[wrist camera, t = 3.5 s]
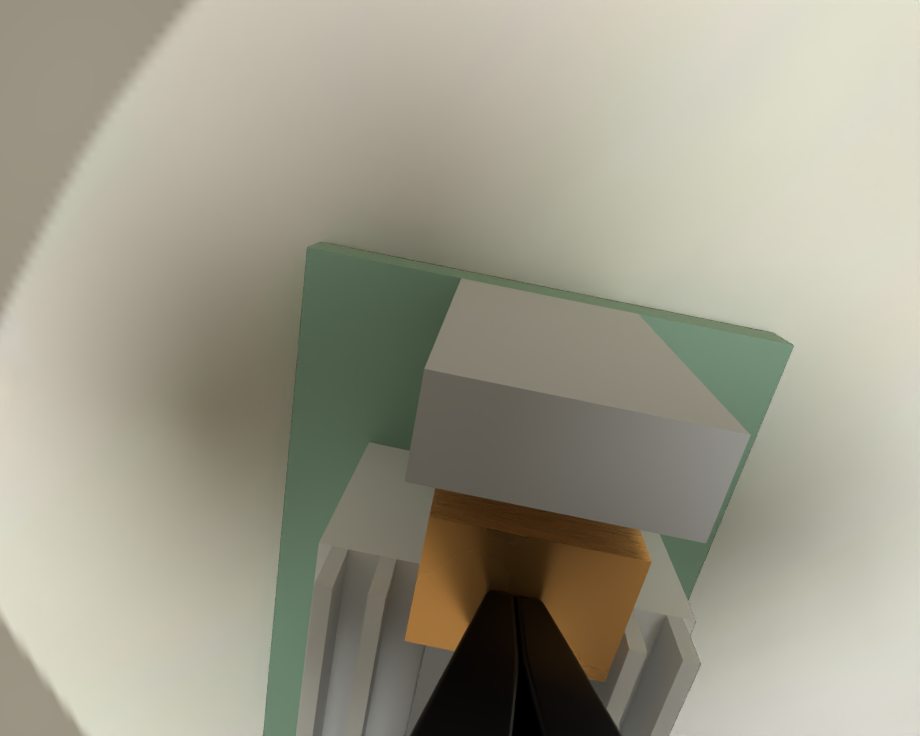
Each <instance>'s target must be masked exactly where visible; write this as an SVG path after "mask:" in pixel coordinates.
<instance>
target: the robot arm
mask: <svg viewBox="0 0 920 736" xmlns="http://www.w3.org/2000/svg"><path fill="white" fill-rule="evenodd" d="M410 736H622V734H621V732H620V730H619V729H618V727H617V725H616V724H615V722H614V720H613V719H612V717H611V715H610V714H609V712H608V710H607V709H606V707H605V705H604V704H603V702H602V700H601V698H600V697H599V695H598V693H597V692H596V690H595V688H594V687H593V685H592V683H591V682H590V680H589V678H588V677H587V675H586V673H585V672H584V670H583V668H582V667H581V665H580V663H579V661H578V660H577V658H576V656H575V655H574V653H573V651H572V650H571V648H570V646H569V645H568V643H567V641H566V640H565V638H564V636H563V635H562V633H561V631H560V630H559V628H558V626H557V624H556V623H555V621H554V619H553V618H552V616H551V614H550V613H549V611H548V609H547V608H546V606H545V604H544V603H543V602H542V601H541V600H539V599H535V598H530V597H525V596H520V595H518V596H516V597H515V598H514V597H513V595H512V594H510V593H506V592H501V591H496V590H488V591H487V592H486V593H485V595H484V597H483V599H482V601H481V603H480V604H479V606H478V608H477V610H476V612H475V614H474V616H473V618H472V619H471V621H470V623H469V625H468V627H467V629H466V631H465V633H464V634H463V636H462V638H461V640H460V642H459V644H458V646H457V648H456V649H455V651H454V653H453V655H452V657H451V659H450V661H449V662H448V664H447V666H446V668H445V670H444V672H443V674H442V676H441V677H440V679H439V681H438V683H437V685H436V687H435V689H434V691H433V692H432V694H431V696H430V698H429V700H428V702H427V704H426V706H425V707H424V709H423V711H422V713H421V715H420V717H419V719H418V721H417V722H416V724H415V726H414V728H413V730H412V732H411V734H410Z"/></svg>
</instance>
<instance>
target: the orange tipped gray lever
mask: <svg viewBox="0 0 920 736" xmlns="http://www.w3.org/2000/svg"><path fill="white" fill-rule="evenodd" d="M651 563H652V562H651V559H650V556H649V553H648V550H647V547H646V545H645V542H644V539H643V536H642V533H641V530H638V529H633V528H628V527H623V526H618V525H613V524H609V523H604V522H599V521H594V520H589V519H584V518H579V517H574V516H570V515H565V514H560V513H555V512H550V511H545V510H540V509H535V508H530V507H526V506H521V505H516V504H511V503H506V502H501V501H496V500H491V499H487V498H482V497H477V496H472V495H467V494H462V493H457V492H452V491H448V490H443V489H438V488H435V492H434V497H433V501H432V506H431V510H430V515H429V520H428V525H427V530H426V535H425V540H424V545H423V550H422V555H421V560H420V565H419V570H418V575H417V580H416V585H415V591H414V596H413V601H412V606H411V611H410V616H409V621H408V626H407V631H406V636H405V641H407V642H412V643H417V644H422V645H424V648H423V652H422V657H421V662H420V666H419V671H418V675H417V680H416V685H415V689H414V694H413V699H412V703H411V708H410V712H409V717H408V722H407V726H406V731H405V735H404V736H410V734H411V732H412V730H413V728H414V726H415V724H416V722H417V721H418V719H419V717H420V715H421V713H422V711H423V709H424V707H425V706H426V704H427V702H428V700H429V698H430V696H431V694H432V692H433V691H434V689H435V687H436V685H437V683H438V681H439V679H440V677H441V676H442V674H443V672H444V670H445V668H446V666H447V664H448V662H449V661H450V659H451V657H452V655H453V653H454V651H455V649H456V648H457V646H458V644H459V642H460V640H461V638H462V636H463V634H464V633H465V631H466V629H467V627H468V625H469V623H470V621H471V619H472V618H473V616H474V614H475V612H476V610H477V608H478V606H479V604H480V603H481V601H482V599H483V597H484V595H485V593H486V592H487V591H488V590H496V591H501V592H506V593H510V594H512V595H513V597H514V598H515V597H516V596H518V595H520V596H525V597H530V598H535V599H539V600H541V601H542V602H543V603H544V604H545V606H546V608H547V609H548V611H549V613H550V614H551V616H552V618H553V619H554V621H555V623H556V624H557V626H558V628H559V630H560V631H561V633H562V635H563V636H564V638H565V640H566V641H567V643H568V645H569V646H570V648H571V650H572V651H573V653H574V655H575V656H576V658H577V660H578V661H579V663H580V665H581V667H582V668H583V670H584V672H585V673H586V675H587V677H588V678H589V679H590V680H595V681H600V682H605V680H606V677H607V675H608V672H609V670H610V667H611V665H612V662H613V660H614V657H615V654H616V652H617V649H618V647H619V644H620V642H621V639H622V637H623V634H624V632H625V629H626V626H627V624H628V621H629V619H630V616H631V614H632V611H633V609H634V606H635V604H636V601H637V599H638V596H639V593H640V591H641V588H642V586H643V583H644V581H645V578H646V576H647V573H648V571H649V568H650V565H651Z"/></svg>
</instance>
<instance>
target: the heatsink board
mask: <svg viewBox="0 0 920 736" xmlns="http://www.w3.org/2000/svg"><path fill="white" fill-rule="evenodd" d="M793 347H794V345H793V344H791V343H789V342H788V341H786V340H784V339H783V338H781V337H779V336H778V335H776V334H774V333H771V332H766V331H761V330H756V329H751V328H746V327H741V326H737V325H732V324H727V323H722V322H717V321H712V320H707V319H702V318H697V317H692V316H687V315H682V314H677V313H672V312H667V311H662V310H657V309H652V308H647V307H642V306H637V305H632V304H627V303H622V302H617V301H612V300H607V299H602V298H597V297H592V296H587V295H582V294H577V293H573V292H568V291H563V290H558V289H553V288H548V287H543V286H538V285H533V284H528V283H523V282H518V281H513V280H508V279H503V278H498V277H493V276H488V275H483V274H478V273H473V272H468V271H463V270H458V269H453V268H448V267H443V266H438V265H433V264H428V263H423V262H418V261H414V260H409V259H404V258H399V257H394V256H389V255H384V254H379V253H374V252H369V251H364V250H359V249H354V248H349V247H344V246H339V245H334V244H329V243H324V242H320V243H317V244H314V245H312V246H309V247H307V255H306V266H305V277H304V288H303V299H302V310H301V321H300V332H299V343H298V354H297V366H296V377H295V388H294V399H293V410H292V421H291V432H290V443H289V454H288V465H287V476H286V487H285V498H284V510H283V521H282V532H281V543H280V554H279V565H278V576H277V587H276V598H275V609H274V620H273V631H272V643H271V654H270V665H269V676H268V687H267V698H266V709H265V720H264V731H263V736H404V735H405V731H406V726H407V722H408V717H409V712H410V708H411V703H412V699H413V694H414V689H415V685H416V680H417V675H418V671H419V666H420V662H421V657H422V652H423V648H424V645H422V644H417V643H412V642H407V641H405V636H406V631H407V626H408V621H409V616H410V611H411V606H412V601H413V596H414V591H415V585H416V580H417V575H418V570H419V565H420V560H421V555H422V550H423V545H424V540H425V535H426V530H427V525H428V520H429V515H430V510H431V506H432V501H433V497H434V492H435V488H438V489H443V490H448V491H452V492H457V493H462V494H467V495H472V496H477V497H482V498H487V499H491V500H496V501H501V502H506V503H511V504H516V505H521V506H526V507H530V508H535V509H540V510H545V511H550V512H555V513H560V514H565V515H570V516H574V517H579V518H584V519H589V520H594V521H599V522H604V523H609V524H613V525H618V526H623V527H628V528H633V529H638V530H641V533H642V536H643V539H644V542H645V545H646V547H647V550H648V553H649V556H650V559H651V562H652V563H651V565H650V568H649V571H648V573H647V576H646V578H645V581H644V583H643V586H642V588H641V591H640V593H639V596H638V599H637V601H636V604H635V606H634V609H633V611H632V614H631V616H630V619H629V621H628V624H627V626H626V629H625V632H624V634H623V637H622V639H621V642H620V644H619V647H618V649H617V652H616V654H615V657H614V660H613V662H612V665H611V667H610V670H609V672H608V675H607V677H606V680H605V682H600V681H595V680H590V679H589V680H590V682H591V683H592V685H593V687H594V688H595V690H596V692H597V693H598V695H599V697H600V698H601V700H602V702H603V704H604V705H605V707H606V709H607V710H608V712H609V714H610V715H611V717H612V719H613V720H614V722H615V724H616V725H617V727H618V729H619V730H620V732H621V734H622V736H669V735H670V732H671V730H672V728H673V726H674V723H675V721H676V719H677V717H678V714H679V712H680V710H681V708H682V706H683V703H684V701H685V699H686V697H687V694H688V692H689V690H690V688H691V685H692V683H693V681H694V679H695V677H696V674H697V672H698V670H699V668H700V665H701V663H700V660H699V657H698V655H697V652H696V650H695V647H694V645H693V642H692V640H691V637H690V635H691V632H692V630H693V628H694V625H695V623H696V619H695V616H694V614H693V612H692V609H691V607H690V605H689V602H688V599H689V597H690V594H691V592H692V590H693V587H694V585H695V582H696V580H697V578H698V575H699V573H700V570H701V568H702V566H703V563H704V561H705V558H706V556H707V554H708V551H709V549H710V546H711V544H712V542H713V539H714V537H715V534H716V532H717V530H718V527H719V525H720V522H721V520H722V518H723V515H724V513H725V510H726V508H727V506H728V503H729V501H730V498H731V496H732V493H733V491H734V489H735V486H736V484H737V481H738V479H739V477H740V474H741V472H742V469H743V467H744V465H745V462H746V460H747V457H748V455H749V453H750V450H751V448H752V445H753V443H754V441H755V438H756V436H757V433H758V431H759V429H760V426H761V424H762V421H763V419H764V417H765V414H766V412H767V409H768V407H769V405H770V402H771V400H772V397H773V395H774V393H775V390H776V388H777V385H778V383H779V380H780V378H781V376H782V373H783V371H784V368H785V366H786V364H787V361H788V359H789V356H790V354H791V352H792V349H793Z"/></svg>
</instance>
